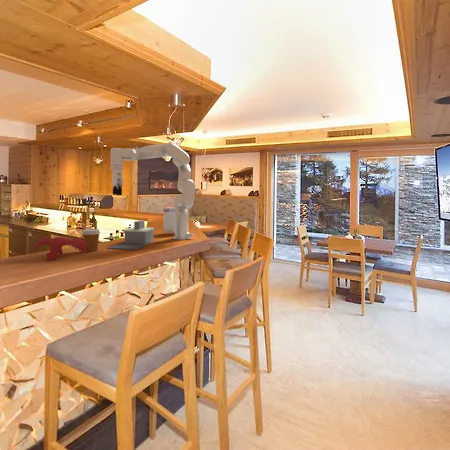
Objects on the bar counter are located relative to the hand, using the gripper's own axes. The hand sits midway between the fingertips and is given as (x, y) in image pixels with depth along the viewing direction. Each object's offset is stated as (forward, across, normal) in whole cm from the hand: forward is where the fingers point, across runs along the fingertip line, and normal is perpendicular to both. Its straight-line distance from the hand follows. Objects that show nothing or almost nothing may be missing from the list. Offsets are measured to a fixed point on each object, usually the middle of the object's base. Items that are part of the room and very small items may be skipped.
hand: (117, 194), depth 212 cm
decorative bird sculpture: (+31, -32, +38) cm, 59 cm away
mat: (+31, -16, -2) cm, 35 cm away
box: (+31, -4, -13) cm, 34 cm away
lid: (+24, -4, -13) cm, 28 cm away
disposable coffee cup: (+31, -20, +20) cm, 42 cm away
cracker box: (+31, +20, -48) cm, 61 cm away
